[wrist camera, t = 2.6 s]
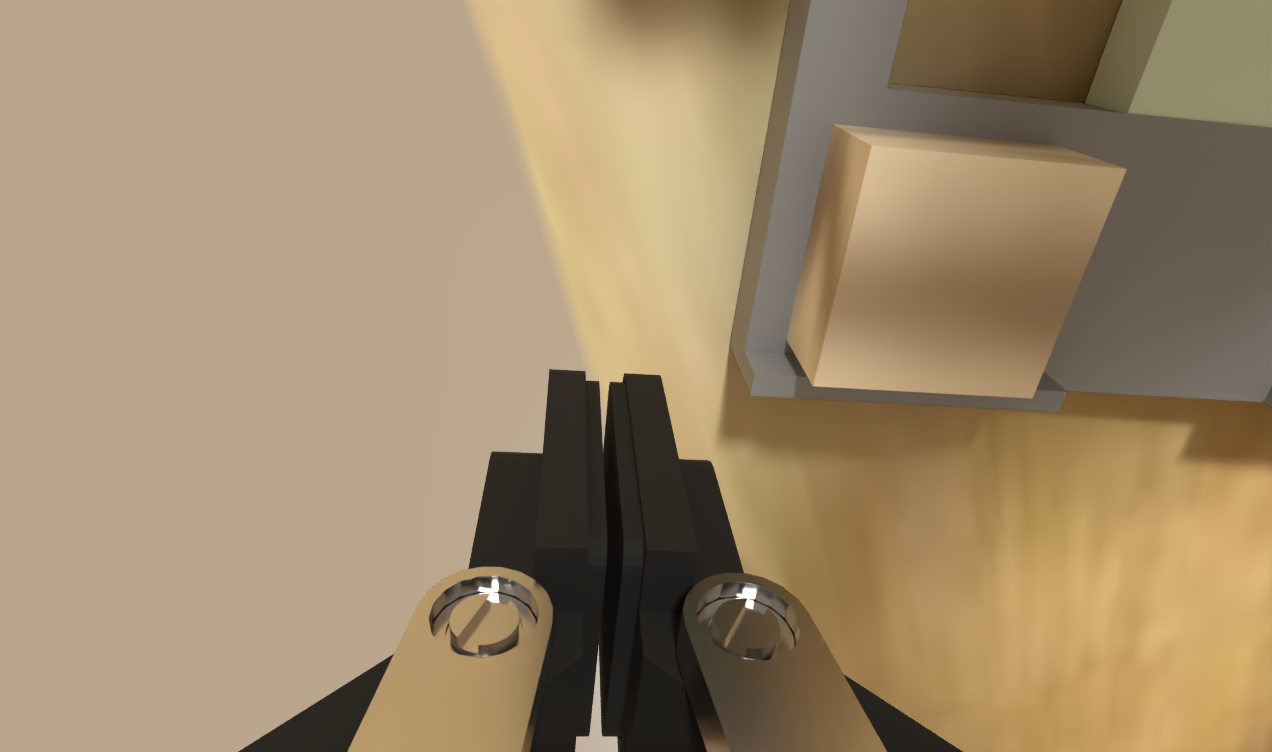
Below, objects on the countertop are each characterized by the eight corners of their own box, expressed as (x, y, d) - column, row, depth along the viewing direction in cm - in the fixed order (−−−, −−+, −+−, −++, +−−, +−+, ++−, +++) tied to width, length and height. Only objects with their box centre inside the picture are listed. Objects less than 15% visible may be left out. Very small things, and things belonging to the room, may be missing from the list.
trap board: (839, -280, 17) (895, -337, 14) (1783, -134, 20) (2002, -156, 17) (729, 345, 25) (750, 395, 22) (1420, 387, 28) (1524, 437, 25)
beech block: (833, 123, 20) (872, 145, 17) (1056, 145, 20) (1126, 169, 18) (786, 339, 23) (812, 386, 20) (981, 351, 23) (1032, 398, 21)
